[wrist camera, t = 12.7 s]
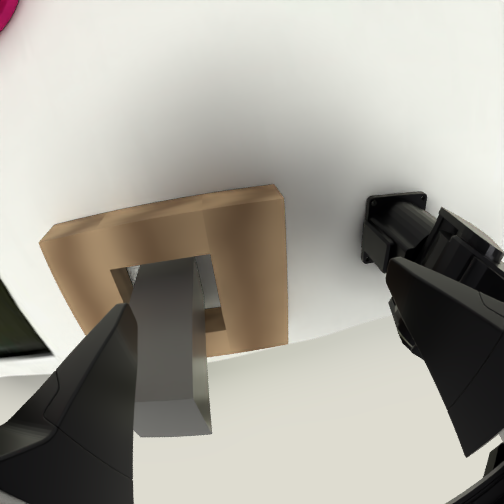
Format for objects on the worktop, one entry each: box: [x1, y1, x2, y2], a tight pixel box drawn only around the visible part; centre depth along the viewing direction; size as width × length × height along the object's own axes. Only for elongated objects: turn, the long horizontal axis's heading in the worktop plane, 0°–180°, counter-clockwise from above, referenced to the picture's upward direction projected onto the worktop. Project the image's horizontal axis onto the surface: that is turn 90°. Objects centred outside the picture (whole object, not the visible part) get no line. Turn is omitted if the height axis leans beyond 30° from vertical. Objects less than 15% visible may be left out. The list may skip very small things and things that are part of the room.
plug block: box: [129, 256, 212, 437], centre depth 19 cm, size 4×4×13 cm
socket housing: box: [39, 184, 288, 357], centre depth 23 cm, size 18×14×3 cm
